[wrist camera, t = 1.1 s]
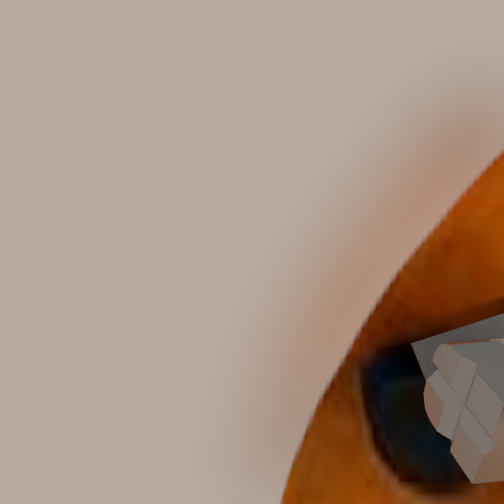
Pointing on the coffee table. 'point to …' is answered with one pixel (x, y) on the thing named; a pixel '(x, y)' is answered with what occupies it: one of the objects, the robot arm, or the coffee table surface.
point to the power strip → (457, 340)
